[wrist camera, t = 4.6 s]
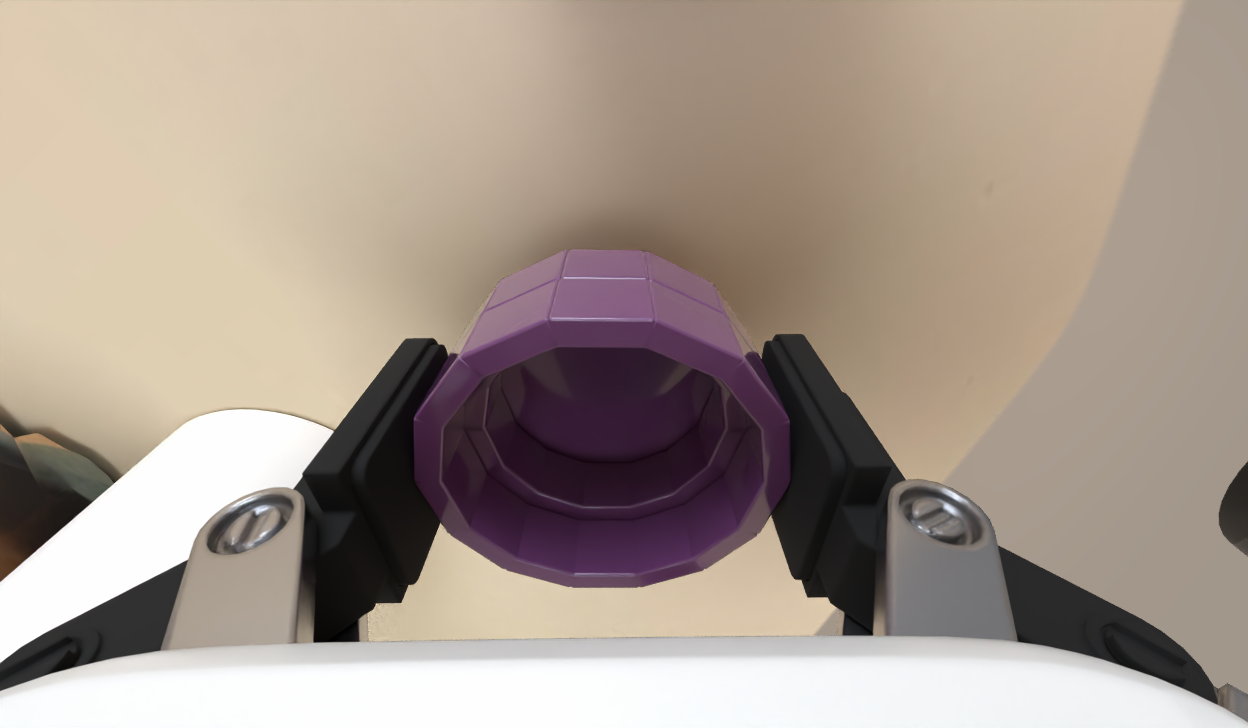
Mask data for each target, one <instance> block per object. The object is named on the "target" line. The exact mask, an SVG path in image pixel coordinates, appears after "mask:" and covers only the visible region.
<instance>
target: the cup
mask: <svg viewBox="0 0 1248 728" xmlns="http://www.w3.org/2000/svg"><path fill="white" fill-rule="evenodd" d="M333 432H334V431H332V430H330V429H328V428H326V427H323V426H321V425H319V424H316V423H313V422H310V421H308V420H305V419H301V418H298V417H294V416H291V415H286V414H281V413H276V412H270V411H262V410H239V409H238V410H225V411H219V412H213V413H209V414H205V415H202V416H200V417H197V418H194V419H192V420H190V421H188V422H186V423H185V424H184V425H182V426H181V427H179V428H178V429H177V430H176V431H174V432H173V433H172V434H171V435H170V436H169V437H167V438H166V439H165V440H164V441H163V442H162V443H160V444H159V445H158V446H157V447H156V448H155V449H154V450H152V451H151V452H150V453H149V454H148V455H147V456H145V457H144V458H143V459H142V460H141V461H140V462H139V463H137V464H136V465H135V466H134V467H133V468H132V469H130V470H129V471H128V472H127V473H126V474H125V475H124V476H122V477H121V478H120V479H119V480H118V481H117V482H115V483H114V484H113V485H112V486H111V487H110V488H108V489H107V490H106V491H105V492H104V493H103V494H102V495H100V496H99V497H98V498H97V499H96V500H95V501H93V502H92V503H91V504H90V505H89V506H88V507H87V508H85V509H84V510H83V511H82V512H81V513H80V514H78V515H77V516H76V517H75V518H74V519H73V520H72V521H70V522H69V523H68V524H67V525H66V526H65V527H63V528H62V529H61V530H60V531H59V532H58V533H56V534H55V535H54V536H53V537H52V538H51V539H50V540H48V541H47V542H46V543H45V544H44V545H43V546H41V547H40V548H39V549H38V550H37V551H36V552H35V553H33V554H32V555H31V556H30V557H29V558H28V559H26V560H25V561H24V562H23V563H22V564H21V565H20V566H18V567H17V568H16V569H15V570H14V571H13V572H11V573H10V574H9V575H8V576H7V577H6V578H4V579H3V580H2V581H1V582H0V663H1V662H2V661H3V660H5V659H6V658H7V657H9V656H10V655H11V654H13V653H14V652H15V651H16V650H18V649H19V648H20V647H22V646H24V645H25V644H27V643H29V642H30V641H32V640H34V639H35V638H37V637H39V636H40V635H42V634H44V633H46V632H48V631H49V630H51V629H53V628H55V627H57V626H59V625H61V624H63V623H65V622H67V621H69V620H71V619H73V618H75V617H77V616H79V615H81V614H83V613H85V612H87V611H88V610H90V609H92V608H94V607H96V606H98V605H100V604H102V603H104V602H106V601H108V600H110V599H112V598H114V597H116V596H118V595H120V594H122V593H124V592H126V591H127V590H129V589H131V588H133V587H135V586H137V585H139V584H141V583H143V582H145V581H147V580H149V579H151V578H153V577H155V576H157V575H159V574H161V573H163V572H164V571H166V570H168V569H170V568H172V567H174V566H176V565H178V564H180V563H182V562H184V561H186V560H188V559H189V556H190V552H191V549H192V546H193V543H194V540H195V538H196V536H197V534H198V532H199V530H200V529H201V528H202V527H203V525H204V524H205V523H206V522H207V521H208V520H209V519H210V518H211V517H212V516H213V515H214V514H216V513H217V512H218V511H220V510H221V509H222V508H223V507H225V506H226V505H228V504H230V503H232V502H233V501H235V500H237V499H239V498H241V497H243V496H245V495H248V494H250V493H253V492H256V491H259V490H263V489H268V488H273V487H287V488H291V489H294V487H295V486H296V485H297V483H298V482H299V481H300V479H301V478H302V477H303V476H302V473H303V471H304V470H305V469H306V468H307V466H308V465H309V464H310V462H311V461H312V460H313V458H314V457H315V456H316V454H317V453H318V452H319V451H320V449H321V448H322V447H323V445H324V444H325V443H326V441H327V440H328V439H329V438H330V436H331V435H332V434H333Z"/></svg>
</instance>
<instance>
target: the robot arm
mask: <svg viewBox="0 0 1248 728" xmlns="http://www.w3.org/2000/svg"><path fill="white" fill-rule="evenodd" d="M447 358H448V354H447V350H446V348H445V346H444V345H438V343H437V341H436V340H435V339H433V338H413V339H405V340H404V341H403V342H402V344H401V345H400V346H399V348H398V349H397V350H396V351H395V353H394V354H393V355H392V357H391V358H390V359H389V361H388V362H387V363H386V365H385V366H384V367H383V368H382V370H381V371H380V372H379V374H378V375H377V376H376V378H375V379H374V380H373V381H372V383H371V384H370V385H369V387H368V388H367V389H366V391H365V392H364V393H363V395H362V396H361V397H360V398H359V400H358V401H357V402H356V404H355V405H354V406H353V408H352V409H351V410H350V411H349V413H348V414H347V415H346V417H345V418H344V419H343V421H342V422H341V423H340V424H339V426H338V427H337V428H336V430H335V431H334V432H333V434H332V435H331V436H330V438H329V439H328V440H327V441H326V443H325V444H324V445H323V447H322V448H321V449H320V451H319V452H318V453H317V454H316V456H315V457H314V458H313V460H312V461H311V462H310V464H309V465H308V466H307V468H306V469H305V470H304V471H303V473H302V476H303V477H302V478H301V479H300V481H299V482H298V483H297V485H296V486H295V487H294V489H291V488H287V487H273V488H268V489H263V490H259V491H256V492H253V493H250V494H248V495H245V496H243V497H241V498H239V499H237V500H235V501H233V502H232V503H230V504H228V505H226V506H225V507H223V508H222V509H221V510H220V511H218V512H217V513H216V514H214V515H213V516H212V517H211V518H210V519H209V520H208V521H207V522H206V523H205V524H204V525H203V527H202V528H201V529H200V530H199V532H198V534H197V536H196V538H195V540H194V543H193V546H192V549H191V552H190V556H189V559H188V560H186V561H184V562H182V563H180V564H178V565H176V566H174V567H172V568H170V569H168V570H166V571H164V572H163V573H161V574H159V575H157V576H155V577H153V578H151V579H149V580H147V581H145V582H143V583H141V584H139V585H137V586H135V587H133V588H131V589H129V590H127V591H126V592H124V593H122V594H120V595H118V596H116V597H114V598H112V599H110V600H108V601H106V602H104V603H102V604H100V605H98V606H96V607H94V608H92V609H90V610H88V611H87V612H85V613H83V614H81V615H79V616H77V617H75V618H73V619H71V620H69V621H67V622H65V623H63V624H61V625H59V626H57V627H55V628H53V629H51V630H49V631H48V632H46V633H44V634H42V635H40V636H39V637H37V638H35V639H34V640H32V641H30V642H29V643H27V644H25V645H24V646H22V647H20V648H19V649H18V650H16V651H15V652H14V653H13V654H11V655H10V656H9V657H7V658H6V659H5V660H3V661H2V662H1V663H0V728H1248V694H1246V693H1244V692H1242V691H1241V690H1239V689H1237V688H1235V687H1233V686H1232V685H1230V684H1228V683H1227V684H1225V685H1224V686H1222V687H1221V688H1219V689H1218V688H1216V687H1214V686H1213V684H1212V683H1211V681H1210V680H1209V678H1208V677H1207V675H1206V674H1205V672H1204V671H1203V669H1202V668H1201V666H1200V665H1199V664H1198V663H1197V662H1196V661H1195V660H1194V659H1193V658H1192V657H1191V656H1190V655H1189V654H1188V653H1187V652H1186V651H1185V650H1184V649H1183V648H1182V647H1181V646H1180V645H1178V644H1177V643H1176V642H1175V641H1174V640H1172V639H1171V638H1170V637H1168V636H1167V635H1166V634H1165V633H1163V632H1162V631H1161V630H1159V629H1157V628H1155V627H1154V626H1152V625H1150V624H1149V623H1147V622H1145V621H1144V620H1142V619H1140V618H1139V617H1137V616H1135V615H1133V614H1131V613H1129V612H1127V611H1125V610H1123V609H1121V608H1119V607H1117V606H1115V605H1113V604H1111V603H1109V602H1107V601H1105V600H1103V599H1102V598H1100V597H1098V596H1096V595H1094V594H1092V593H1090V592H1088V591H1086V590H1084V589H1082V588H1080V587H1078V586H1076V585H1074V584H1072V583H1070V582H1068V581H1067V580H1065V579H1063V578H1061V577H1059V576H1057V575H1055V574H1053V573H1051V572H1049V571H1047V570H1045V569H1043V568H1041V567H1039V566H1037V565H1035V564H1033V563H1031V562H1029V561H1028V560H1026V559H1024V558H1022V557H1020V556H1018V555H1016V554H1014V553H1012V552H1010V551H1008V550H1006V549H1004V548H1002V547H1000V546H998V544H997V540H996V535H995V531H994V528H993V526H992V523H991V521H990V519H989V518H988V516H987V515H986V514H985V513H984V512H983V510H982V509H981V508H980V507H979V506H977V504H975V503H974V502H973V501H972V500H970V499H969V498H968V497H966V496H965V495H963V494H961V493H959V492H958V491H956V490H954V489H953V488H950V487H948V486H945V485H942V484H940V483H937V482H933V481H927V480H922V479H913V480H906V479H905V478H904V476H903V475H902V473H901V472H900V471H899V469H898V468H897V466H896V465H895V463H894V462H893V460H892V459H891V457H890V456H889V454H888V453H887V452H886V450H885V449H884V447H883V446H882V444H881V443H880V441H879V440H878V438H877V437H876V435H875V434H874V432H873V431H872V430H871V428H870V427H869V425H868V424H867V422H866V421H865V419H864V418H863V416H862V415H861V413H860V412H859V411H858V409H857V408H856V406H855V405H854V403H853V402H852V400H851V399H850V397H849V396H848V395H847V394H846V393H844V392H842V391H841V390H840V388H839V387H838V385H837V384H836V382H835V381H834V379H833V378H832V376H831V375H830V373H829V372H828V370H827V369H826V367H825V366H824V364H823V363H822V361H821V360H820V358H819V357H818V355H817V354H816V352H815V351H814V349H813V348H812V346H811V345H810V343H809V342H808V340H807V339H806V337H805V336H804V335H803V334H776V335H775V336H774V338H773V340H772V341H766V342H765V344H764V348H763V354H762V359H761V360H762V362H763V364H764V366H765V369H766V371H767V373H768V375H769V377H770V379H771V381H772V383H773V385H774V387H775V389H776V392H777V394H778V396H779V398H780V400H781V402H782V404H783V406H784V408H785V410H786V413H787V415H788V418H789V420H790V445H791V482H790V485H789V487H788V489H787V490H786V492H785V493H784V495H783V497H782V498H781V500H780V501H779V503H778V505H777V506H776V508H775V509H774V511H773V512H772V514H771V516H772V519H773V522H774V525H775V528H776V531H777V534H778V537H779V540H780V543H781V545H782V548H783V551H784V554H785V557H786V560H787V563H788V566H789V569H790V572H791V575H792V576H793V578H794V579H795V580H802V583H803V586H804V589H805V592H806V594H807V597H808V598H809V597H828V598H829V601H830V603H831V604H833V605H834V606H835V607H837V608H838V609H839V613H838V622H837V633H836V636H725V637H631V638H556V639H486V640H432V641H379V642H369V638H368V617H367V613H368V612H370V611H371V610H373V609H374V607H375V604H376V603H401V602H402V600H403V597H404V595H405V592H406V590H407V587H408V585H413V584H415V583H416V582H417V580H418V578H419V576H420V574H421V571H422V569H423V566H424V563H425V561H426V558H427V556H428V553H429V550H430V548H431V545H432V543H433V540H434V537H435V535H436V532H437V530H438V527H439V525H440V520H439V519H438V517H437V516H436V514H435V513H434V511H433V510H432V508H431V507H430V505H429V504H428V502H427V501H426V499H425V498H424V496H423V495H422V493H421V492H420V490H419V489H418V487H417V486H416V484H415V481H414V417H415V414H416V412H417V410H418V409H419V407H420V405H421V404H422V402H423V400H424V398H425V397H426V395H427V393H428V391H429V390H430V388H431V386H432V384H433V383H434V381H435V379H436V377H437V376H438V374H439V372H440V371H441V369H442V367H443V365H444V364H445V362H446V360H447Z"/></svg>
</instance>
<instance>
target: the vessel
mask: <svg viewBox="0 0 1248 728" xmlns="http://www.w3.org/2000/svg"><path fill="white" fill-rule="evenodd" d="M113 484H114V483H113V481H112V480H111V479H110V477H109V476H108V475H107V474H105V473H104V472H103V471H102V470H101V469H100V468H99V467H97V466H96V465H95V464H94V463H93V462H92V461H91V460H89V459H88V458H86V457H84V456H82V455H80V454H77V453H75V452H73V451H71V450H68V449H66V448H64V447H62V446H60V445H58V444H56V443H55V442H53V441H51V440H49V439H48V438H46V437H44V436H42V435H41V434H39V433H34V434H29V435H24V436H19V437H14V438H13V437H12V436H11V434H10V433H9V432H8V431H7V430H6V429H5V428H4V427H3V426H2V425H1V424H0V582H1V581H2V580H3V579H4V578H6V577H7V576H8V575H9V574H10V573H11V572H13V571H14V570H15V569H16V568H17V567H18V566H20V565H21V564H22V563H23V562H24V561H25V560H26V559H28V558H29V557H30V556H31V555H32V554H33V553H35V552H36V551H37V550H38V549H39V548H40V547H41V546H43V545H44V544H45V543H46V542H47V541H48V540H50V539H51V538H52V537H53V536H54V535H55V534H56V533H58V532H59V531H60V530H61V529H62V528H63V527H65V526H66V525H67V524H68V523H69V522H70V521H72V520H73V519H74V518H75V517H76V516H77V515H78V514H80V513H81V512H82V511H83V510H84V509H85V508H87V507H88V506H89V505H90V504H91V503H92V502H93V501H95V500H96V499H97V498H98V497H99V496H100V495H102V494H103V493H104V492H105V491H106V490H107V489H108V488H110V487H111V486H112V485H113Z"/></svg>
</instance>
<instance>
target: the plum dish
mask: <svg viewBox="0 0 1248 728" xmlns="http://www.w3.org/2000/svg"><path fill="white" fill-rule="evenodd" d="M414 481H415V484H416V486H417V487H418V489H419V490H420V492H421V493H422V495H423V496H424V498H425V499H426V501H427V502H428V504H429V505H430V507H431V508H432V510H433V511H434V513H435V514H436V516H437V517H438V519H439V520H440V522H441V524H442V525H443V527H444V528H445V530H446V531H447V533H449V534H450V535H451V536H452V537H454V538H456V539H457V540H459V541H460V542H462V543H463V544H465V545H466V546H468V547H470V548H471V549H473V550H474V551H476V552H477V553H479V554H481V555H482V556H484V557H485V558H487V559H488V560H490V561H491V562H493V563H495V564H496V565H498V566H499V567H501V568H502V569H506V570H507V571H510V572H514V573H518V574H522V575H525V576H529V577H533V578H536V579H540V580H544V581H548V582H551V583H555V584H559V585H562V586H566V587H573V588H637V587H645V586H648V585H652V584H656V583H659V582H663V581H667V580H670V579H674V578H678V577H681V576H685V575H689V574H692V573H696V572H700V571H703V570H704V569H707V568H708V567H710V566H712V565H713V564H715V563H716V562H718V561H719V560H721V559H722V558H724V557H725V556H727V555H728V554H730V553H731V552H733V551H734V550H736V549H737V548H739V547H740V546H742V545H744V544H745V543H747V542H748V541H750V540H751V539H753V538H754V537H756V536H757V534H759V533H760V532H761V530H762V528H763V527H764V525H765V524H766V522H767V520H768V519H769V517H770V516H771V514H772V512H773V511H774V509H775V508H776V506H777V505H778V503H779V501H780V500H781V498H782V497H783V495H784V493H785V492H786V490H787V489H788V487H789V485H790V482H791V445H790V420H789V418H788V415H787V413H786V410H785V408H784V406H783V404H782V402H781V400H780V398H779V396H778V394H777V392H776V389H775V387H774V385H773V383H772V381H771V379H770V377H769V375H768V373H767V371H766V369H765V366H764V364H763V362H762V360H761V358H760V356H759V354H758V352H757V350H756V348H755V345H754V343H753V341H752V339H751V337H750V335H749V333H748V331H747V330H746V328H745V327H744V326H743V324H742V323H741V322H740V320H739V319H738V317H737V316H736V315H735V313H734V312H733V310H732V309H731V308H730V306H729V305H728V303H727V302H726V301H725V299H724V298H723V296H722V295H721V294H720V292H719V291H718V289H717V288H716V287H715V285H713V284H711V282H710V281H708V280H706V279H704V278H702V277H700V276H698V275H696V274H694V273H692V272H690V271H688V270H686V269H684V268H682V267H679V266H677V265H675V264H673V263H671V262H669V261H667V260H665V259H663V258H661V257H659V256H657V255H655V254H653V253H651V252H648V251H646V252H644V251H642V250H580V249H571V250H568V251H567V250H563V251H561V252H559V253H557V254H555V255H552V256H550V257H548V258H546V259H544V260H542V261H540V262H537V263H535V264H533V265H531V266H529V267H527V268H525V269H523V270H520V271H518V272H516V273H514V274H512V275H510V276H508V277H505V278H503V279H502V280H501V281H499V282H498V283H497V285H496V286H495V287H494V289H493V290H492V292H491V293H490V294H489V296H488V297H487V299H486V300H485V301H484V303H483V304H482V305H481V307H480V308H479V310H478V311H477V312H476V314H475V315H474V317H473V318H472V319H471V321H470V322H469V324H468V325H467V326H466V328H465V329H464V331H463V332H462V334H461V336H460V337H459V339H458V341H457V343H456V344H455V346H454V348H453V350H452V351H451V353H450V355H449V357H448V358H447V360H446V362H445V364H444V365H443V367H442V369H441V371H440V372H439V374H438V376H437V377H436V379H435V381H434V383H433V384H432V386H431V388H430V390H429V391H428V393H427V395H426V397H425V398H424V400H423V402H422V404H421V405H420V407H419V409H418V410H417V412H416V414H415V417H414Z"/></svg>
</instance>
